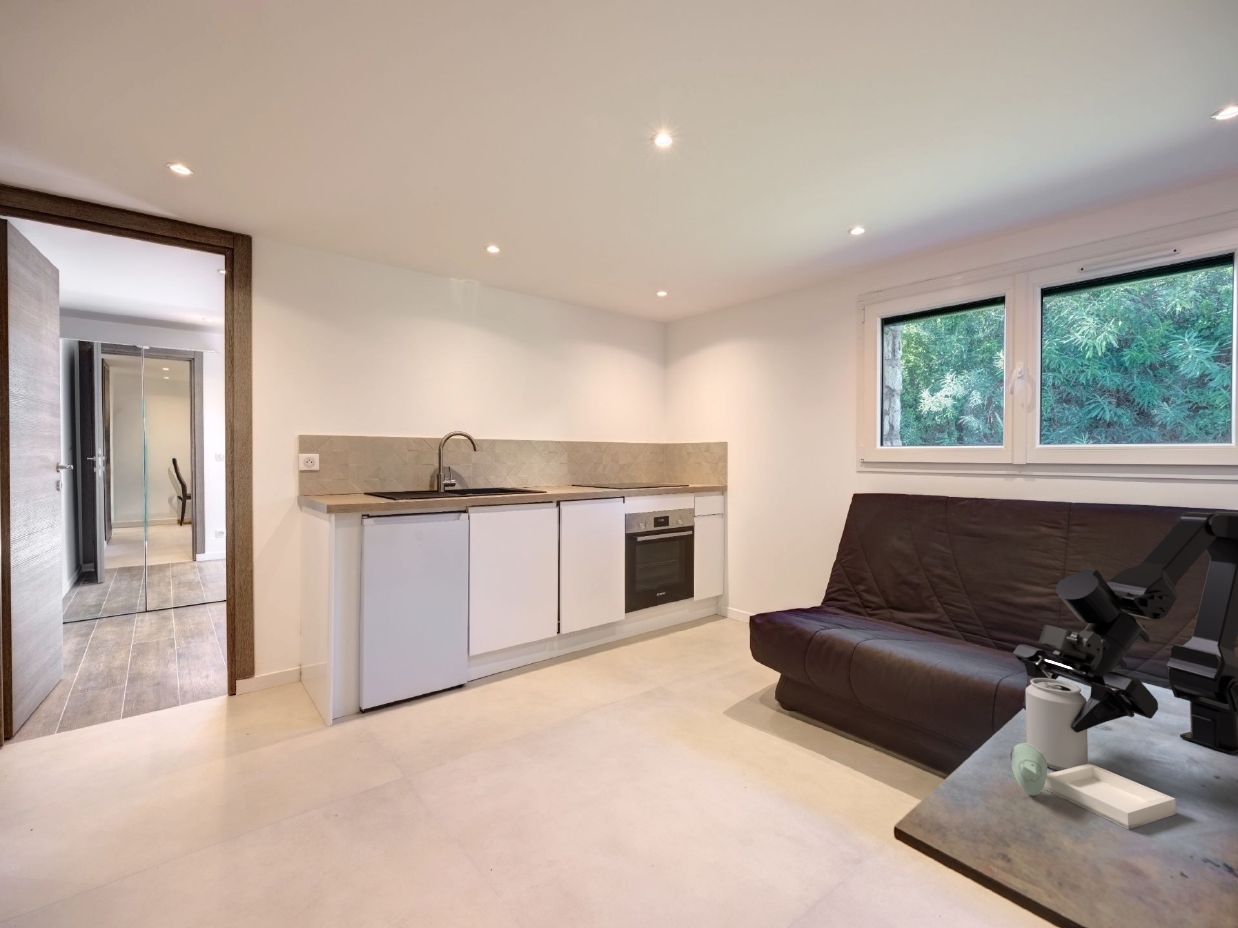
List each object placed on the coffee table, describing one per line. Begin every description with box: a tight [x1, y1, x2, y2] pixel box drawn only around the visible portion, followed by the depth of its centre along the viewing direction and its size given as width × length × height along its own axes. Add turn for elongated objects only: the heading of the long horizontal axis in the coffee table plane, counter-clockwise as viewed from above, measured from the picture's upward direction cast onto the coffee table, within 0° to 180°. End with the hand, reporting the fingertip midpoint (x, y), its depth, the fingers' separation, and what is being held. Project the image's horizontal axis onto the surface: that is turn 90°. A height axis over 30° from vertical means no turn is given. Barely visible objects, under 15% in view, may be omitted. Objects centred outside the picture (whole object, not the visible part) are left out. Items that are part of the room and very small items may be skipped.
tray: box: [1044, 762, 1176, 830], centre depth 76 cm, size 10×10×2 cm
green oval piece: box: [1009, 742, 1048, 797], centre depth 77 cm, size 8×4×7 cm, turn 136°
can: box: [1025, 678, 1089, 771], centre depth 87 cm, size 8×8×12 cm
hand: (1048, 719), depth 86 cm, fingers closed on can, 7 cm apart
